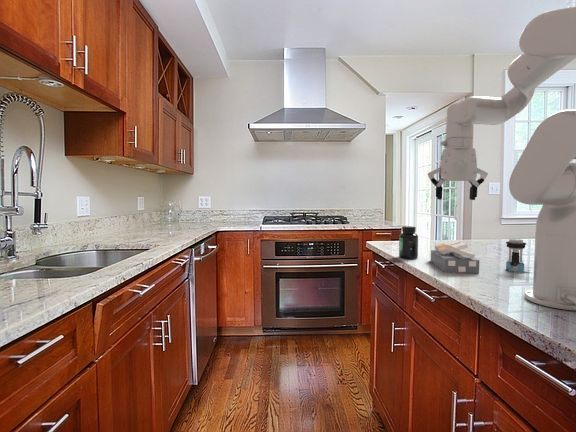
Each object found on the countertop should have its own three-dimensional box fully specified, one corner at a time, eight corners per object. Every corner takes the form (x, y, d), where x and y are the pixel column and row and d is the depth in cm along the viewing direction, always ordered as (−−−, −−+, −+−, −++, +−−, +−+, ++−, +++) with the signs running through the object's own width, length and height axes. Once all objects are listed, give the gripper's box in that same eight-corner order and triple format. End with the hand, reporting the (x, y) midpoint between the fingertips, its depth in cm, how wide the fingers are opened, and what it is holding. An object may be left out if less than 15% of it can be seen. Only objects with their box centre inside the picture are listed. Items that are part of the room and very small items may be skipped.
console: (479, 273, 103) (479, 256, 103) (444, 272, 105) (445, 255, 105) (459, 261, 121) (460, 247, 121) (430, 260, 123) (431, 246, 123)
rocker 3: (473, 258, 105) (475, 254, 104) (448, 250, 106) (449, 245, 106) (469, 256, 108) (470, 252, 108) (444, 248, 110) (446, 244, 109)
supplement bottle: (399, 259, 127) (399, 227, 126) (398, 255, 133) (399, 225, 133) (418, 259, 125) (419, 227, 124) (417, 256, 131) (417, 226, 131)
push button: (529, 270, 107) (530, 239, 106) (531, 274, 102) (532, 241, 102) (504, 268, 110) (505, 238, 110) (505, 271, 106) (506, 240, 105)
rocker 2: (467, 247, 110) (466, 243, 110) (443, 254, 112) (441, 250, 112) (463, 245, 114) (462, 241, 114) (439, 252, 116) (438, 248, 116)
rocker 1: (461, 244, 116) (460, 241, 116) (438, 251, 118) (437, 247, 118) (458, 243, 120) (456, 239, 120) (435, 249, 122) (434, 245, 122)
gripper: (431, 143, 103) (429, 199, 104) (493, 142, 99) (490, 200, 101) (426, 146, 110) (424, 198, 112) (484, 145, 106) (481, 199, 108)
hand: (455, 199), depth 106 cm, fingers open, 9 cm apart
